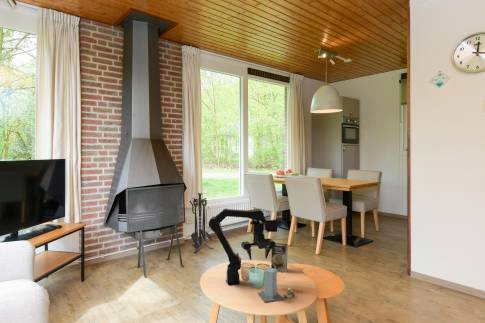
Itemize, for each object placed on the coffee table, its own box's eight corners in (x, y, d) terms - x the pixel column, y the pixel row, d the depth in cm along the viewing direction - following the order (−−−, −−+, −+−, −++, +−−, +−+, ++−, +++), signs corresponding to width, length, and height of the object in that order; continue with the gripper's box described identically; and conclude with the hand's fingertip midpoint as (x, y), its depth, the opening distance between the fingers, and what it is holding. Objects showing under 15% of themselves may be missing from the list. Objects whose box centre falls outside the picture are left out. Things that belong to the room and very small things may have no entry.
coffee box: (270, 270, 187) (271, 244, 187) (273, 267, 193) (273, 242, 193) (285, 272, 184) (285, 246, 184) (287, 269, 190) (287, 243, 190)
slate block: (264, 296, 152) (264, 270, 152) (268, 292, 156) (268, 267, 156) (272, 298, 149) (272, 272, 149) (276, 295, 153) (276, 269, 153)
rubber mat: (264, 302, 146) (264, 301, 146) (257, 293, 156) (257, 292, 156) (283, 299, 149) (283, 298, 149) (275, 291, 159) (275, 290, 159)
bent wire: (284, 298, 151) (284, 293, 151) (280, 293, 156) (280, 288, 156) (295, 297, 152) (295, 291, 152) (290, 292, 157) (290, 287, 157)
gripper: (247, 236, 159) (246, 266, 159) (279, 234, 164) (279, 262, 165) (241, 231, 170) (240, 259, 170) (271, 229, 175) (271, 256, 175)
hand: (258, 259), depth 170 cm, fingers open, 9 cm apart
